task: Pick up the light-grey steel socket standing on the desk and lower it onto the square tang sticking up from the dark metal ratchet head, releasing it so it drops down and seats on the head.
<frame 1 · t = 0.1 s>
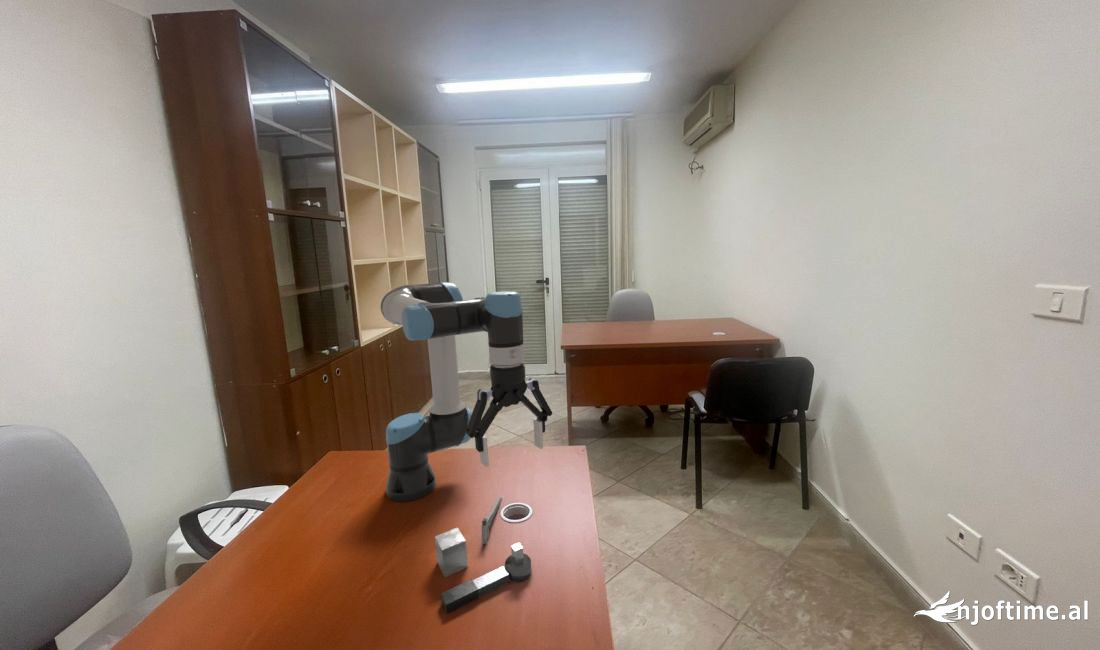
hand: (512, 455, 92), 28 cm above the table, fingers open, 13 cm apart
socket: (452, 564, 97), on the table
ratchet: (518, 571, 94), on the table
caliper: (493, 521, 114), on the table
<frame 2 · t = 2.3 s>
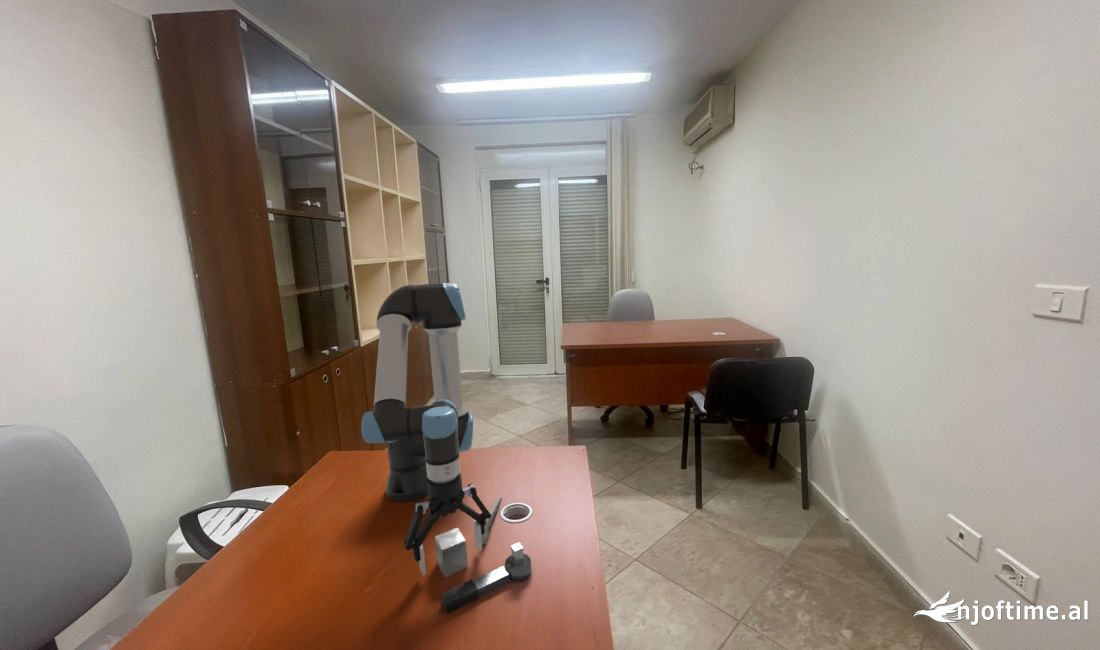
hand: (451, 558, 97), 2 cm above the table, fingers open, 13 cm apart
nothing on the table moved.
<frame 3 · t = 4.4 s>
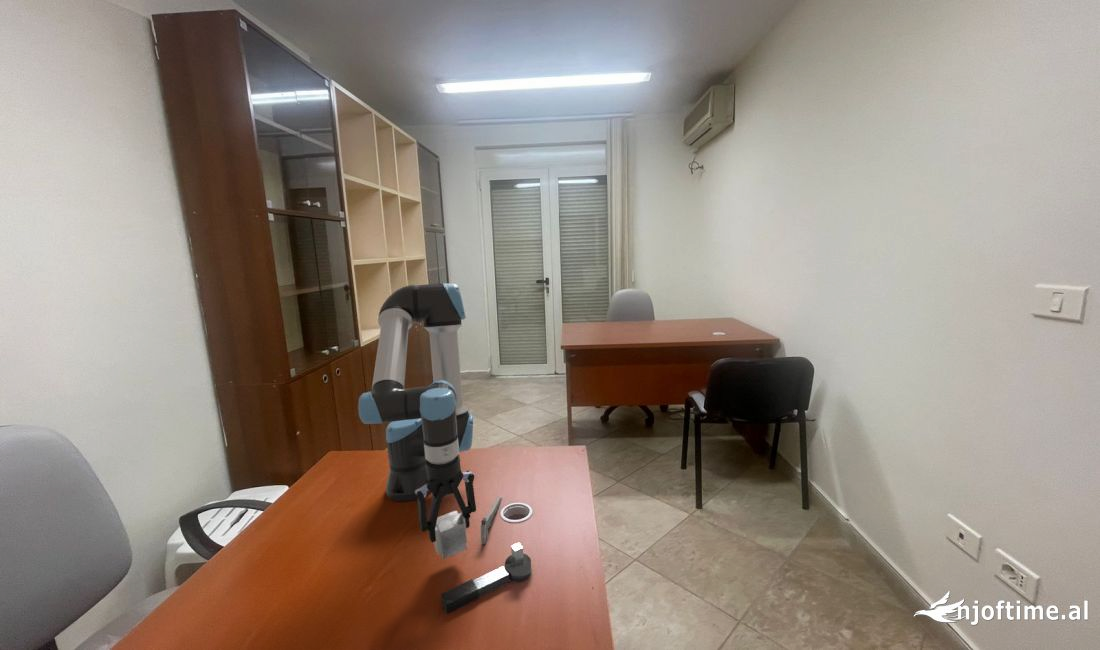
hand: (451, 545, 97), 5 cm above the table, fingers closed on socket, 6 cm apart
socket: (451, 546, 97), point 4 cm above the table, touching gripper
everything else where it was.
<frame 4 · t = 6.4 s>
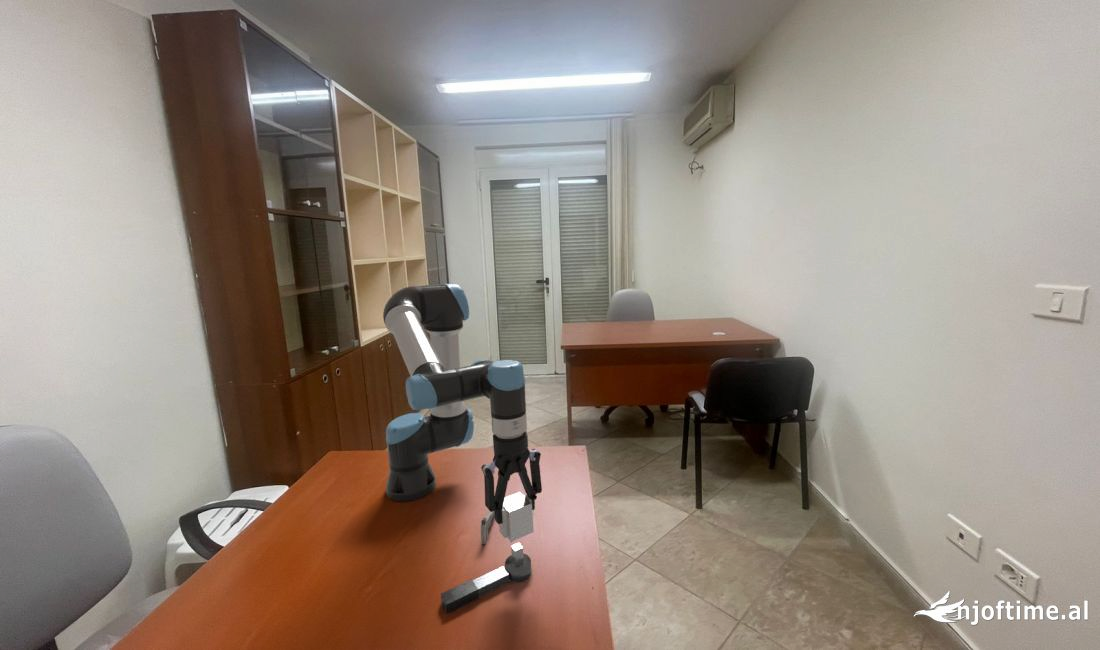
hand: (516, 528, 92), 11 cm above the table, fingers closed on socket, 6 cm apart
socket: (516, 530, 92), point 11 cm above the table, touching gripper
everything else where it was.
when the fingers open (4 cm above the table, at t = 8.5 s): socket drops 1 cm, resting on ratchet.
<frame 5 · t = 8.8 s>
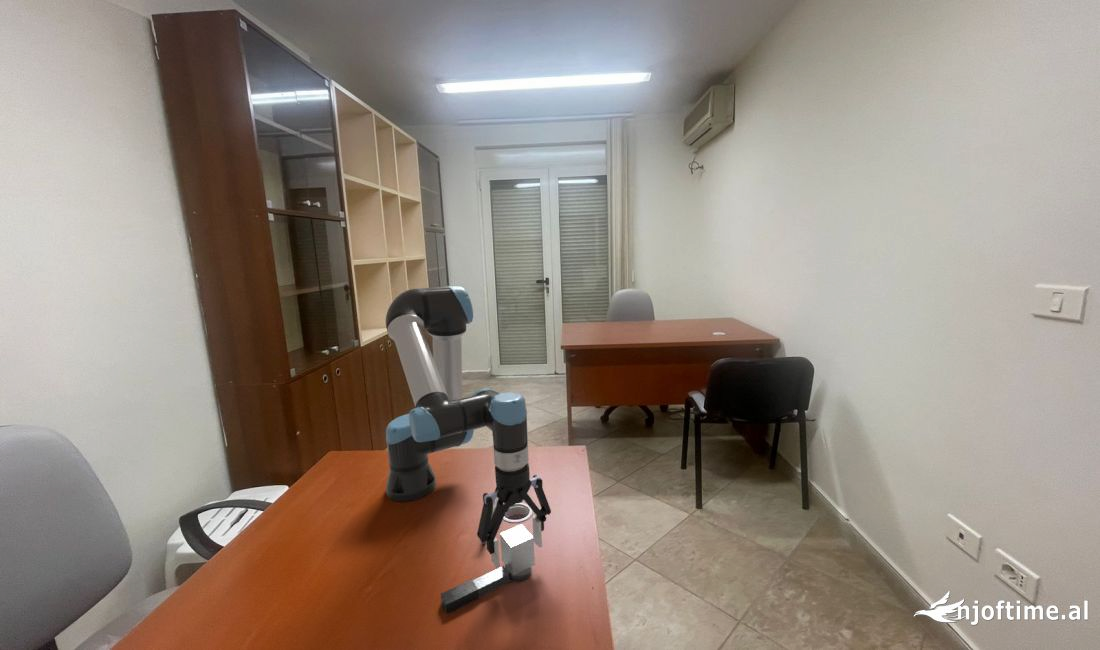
hand: (517, 553, 93), 5 cm above the table, fingers open, 10 cm apart
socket: (518, 562, 94), point 2 cm above the table, touching ratchet
everything else where it was.
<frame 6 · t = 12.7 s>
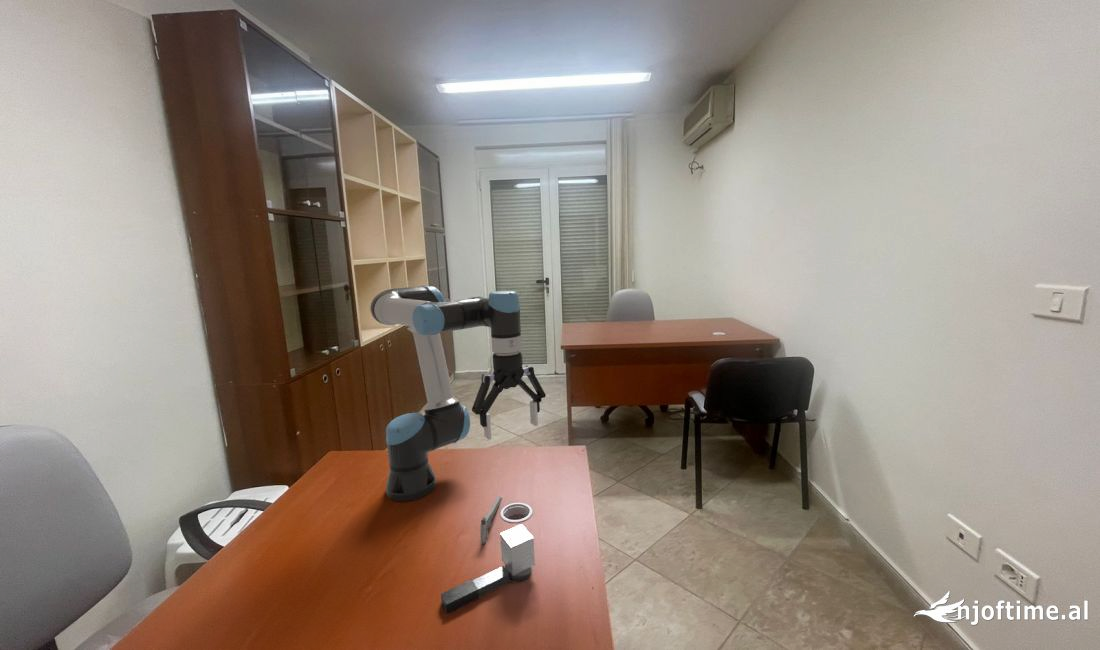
hand: (511, 430, 107), 27 cm above the table, fingers open, 13 cm apart
nothing on the table moved.
at the end: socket 0.1 cm off-centre on the ratchet, point 2.5 cm above the ratchet's base; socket tilted 0°; the gripper is holding nothing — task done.
